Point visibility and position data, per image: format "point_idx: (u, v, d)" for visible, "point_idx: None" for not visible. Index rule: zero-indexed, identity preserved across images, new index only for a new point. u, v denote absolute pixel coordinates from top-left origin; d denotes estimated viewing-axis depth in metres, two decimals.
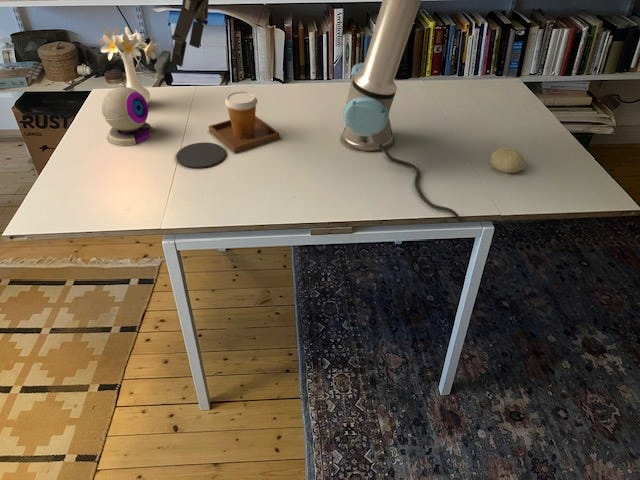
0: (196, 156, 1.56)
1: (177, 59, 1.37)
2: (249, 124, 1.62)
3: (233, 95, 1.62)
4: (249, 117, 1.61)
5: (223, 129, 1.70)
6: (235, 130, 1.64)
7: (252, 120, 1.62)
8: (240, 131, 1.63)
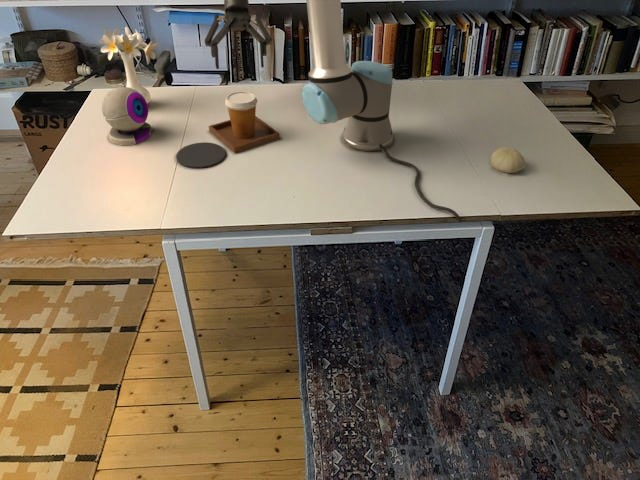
0: (196, 156, 1.56)
1: None
2: (249, 124, 1.62)
3: (233, 95, 1.62)
4: (249, 117, 1.61)
5: (223, 129, 1.70)
6: (235, 130, 1.64)
7: (252, 120, 1.62)
8: (240, 131, 1.63)
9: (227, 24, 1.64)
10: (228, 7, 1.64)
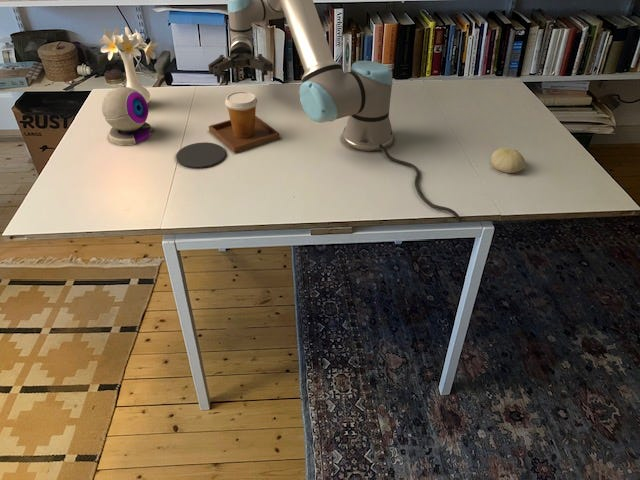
0: (196, 156, 1.56)
1: None
2: (249, 124, 1.62)
3: (233, 95, 1.62)
4: (249, 117, 1.61)
5: (223, 129, 1.70)
6: (235, 130, 1.64)
7: (252, 120, 1.62)
8: (240, 131, 1.63)
9: (231, 57, 1.75)
10: (233, 49, 1.78)
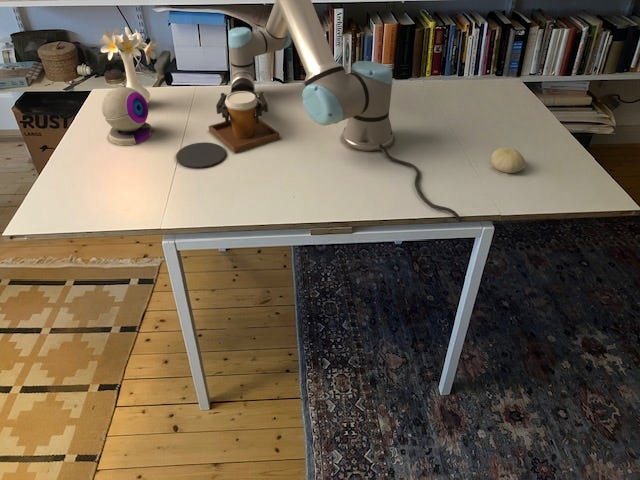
0: (196, 156, 1.56)
1: None
2: (249, 124, 1.62)
3: (233, 95, 1.62)
4: (249, 117, 1.61)
5: (223, 129, 1.70)
6: (234, 130, 1.64)
7: (252, 120, 1.62)
8: (240, 131, 1.63)
9: None
10: (235, 85, 1.72)
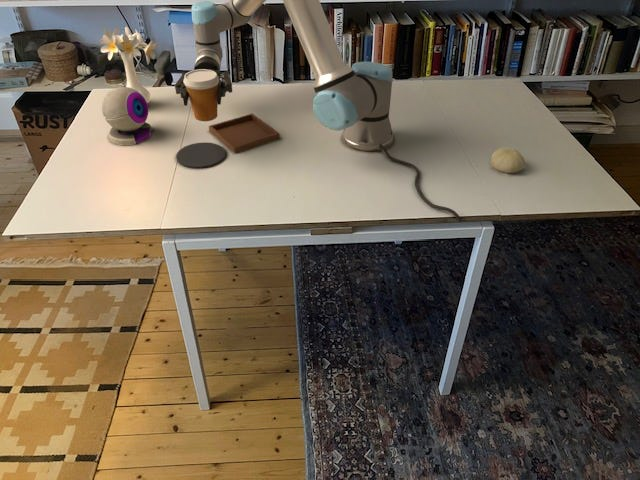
0: (196, 156, 1.56)
1: None
2: (210, 105, 1.48)
3: (193, 73, 1.47)
4: (209, 98, 1.46)
5: (223, 129, 1.70)
6: (195, 112, 1.50)
7: (214, 101, 1.48)
8: (201, 113, 1.49)
9: None
10: (197, 64, 1.58)
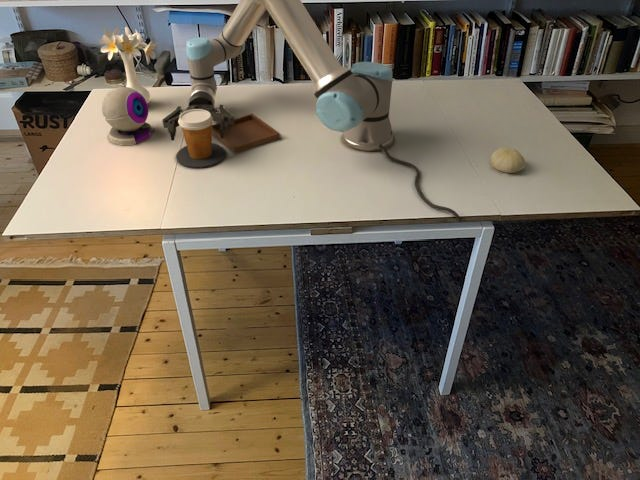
0: None
1: None
2: (205, 144, 1.52)
3: (187, 113, 1.52)
4: (204, 137, 1.51)
5: None
6: (190, 150, 1.54)
7: (208, 140, 1.52)
8: (195, 152, 1.53)
9: (188, 109, 1.59)
10: (192, 99, 1.62)
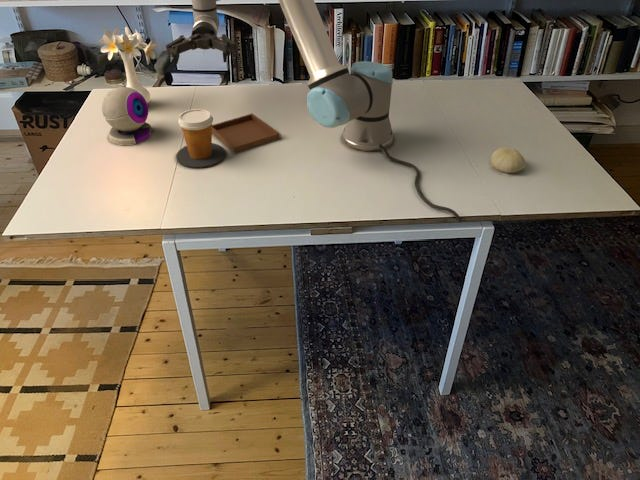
0: None
1: None
2: (205, 144, 1.52)
3: (187, 113, 1.52)
4: (204, 137, 1.51)
5: (223, 129, 1.70)
6: (190, 150, 1.54)
7: (208, 140, 1.52)
8: (195, 152, 1.53)
9: (191, 37, 1.60)
10: (195, 29, 1.63)
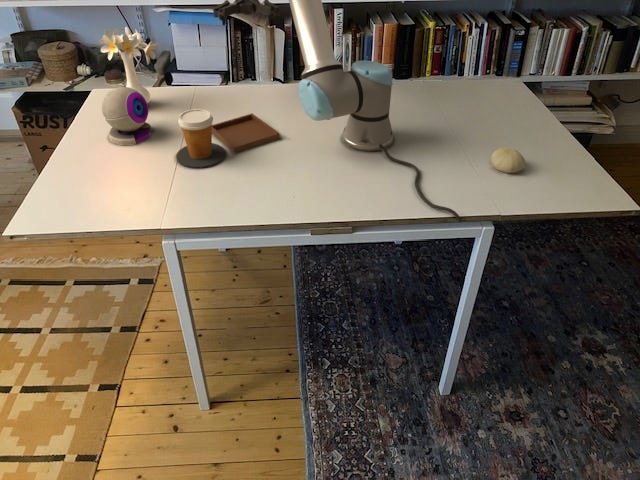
0: None
1: None
2: (205, 144, 1.52)
3: (187, 113, 1.52)
4: (204, 137, 1.51)
5: (223, 129, 1.70)
6: (190, 150, 1.54)
7: (208, 140, 1.52)
8: (195, 152, 1.53)
9: (236, 2, 1.69)
10: None
